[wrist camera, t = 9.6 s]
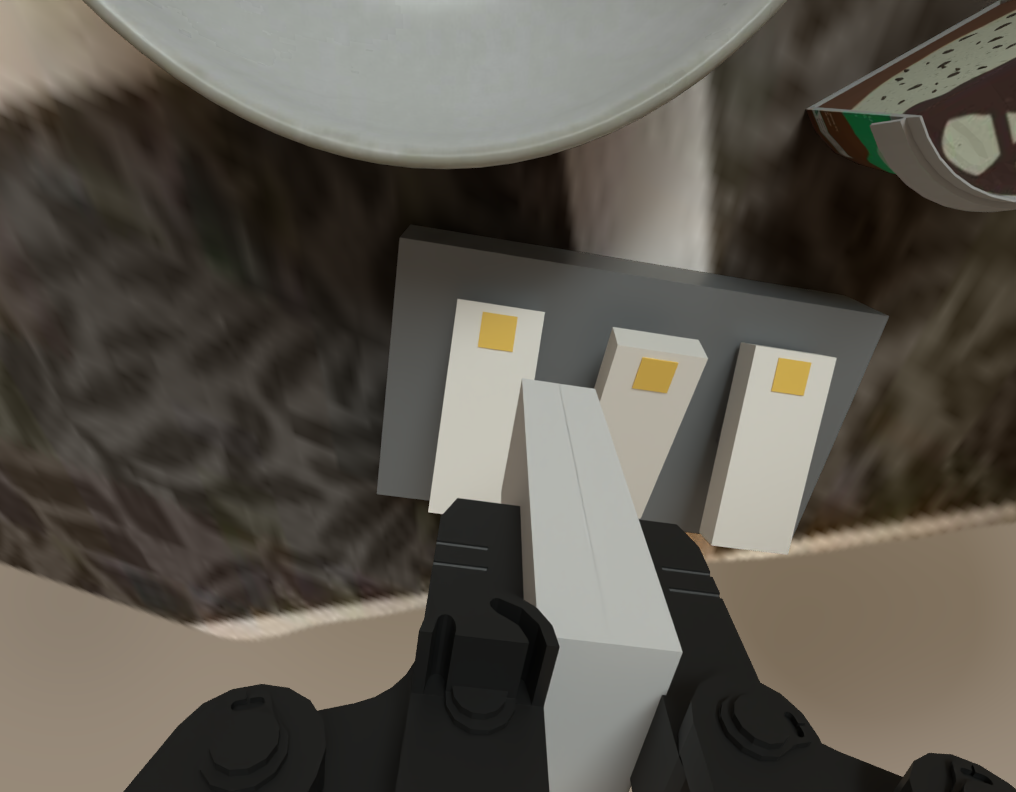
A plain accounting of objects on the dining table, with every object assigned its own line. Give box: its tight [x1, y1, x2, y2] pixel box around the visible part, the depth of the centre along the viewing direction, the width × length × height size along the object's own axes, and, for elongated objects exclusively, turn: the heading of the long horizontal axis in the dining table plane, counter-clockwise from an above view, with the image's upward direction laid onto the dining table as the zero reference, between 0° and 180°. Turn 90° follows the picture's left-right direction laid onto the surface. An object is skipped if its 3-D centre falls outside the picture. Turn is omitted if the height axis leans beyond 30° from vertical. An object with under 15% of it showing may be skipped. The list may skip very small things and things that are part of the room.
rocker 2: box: [594, 327, 708, 519], centre depth 29 cm, size 10×4×2 cm, turn 171°
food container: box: [806, 0, 1016, 212], centre depth 25 cm, size 12×6×10 cm, turn 119°
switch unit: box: [377, 224, 889, 538], centre depth 33 cm, size 14×24×5 cm, turn 81°
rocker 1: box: [428, 299, 545, 514], centre depth 28 cm, size 10×4×2 cm, turn 171°
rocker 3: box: [699, 342, 837, 555], centre depth 30 cm, size 10×4×2 cm, turn 171°
